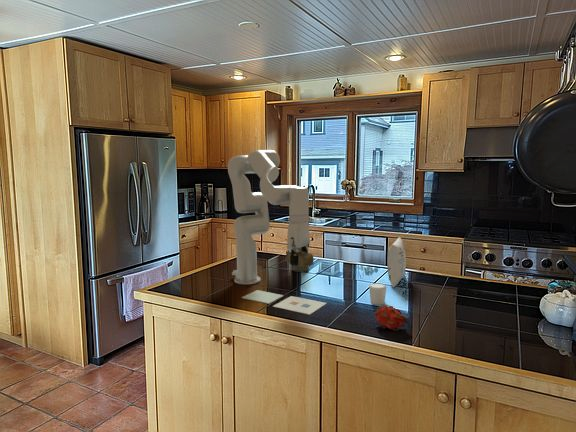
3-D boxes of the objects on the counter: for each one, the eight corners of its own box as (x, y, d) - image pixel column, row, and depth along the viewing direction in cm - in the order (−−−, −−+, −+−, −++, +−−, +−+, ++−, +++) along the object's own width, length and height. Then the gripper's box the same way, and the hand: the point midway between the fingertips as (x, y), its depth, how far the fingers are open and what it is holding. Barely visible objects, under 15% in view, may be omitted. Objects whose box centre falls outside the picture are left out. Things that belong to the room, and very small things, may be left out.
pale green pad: (241, 298, 176) (241, 297, 176) (257, 290, 185) (257, 290, 185) (268, 304, 168) (268, 303, 168) (283, 296, 178) (283, 295, 177)
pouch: (409, 277, 202) (410, 237, 199) (400, 289, 185) (401, 245, 182) (392, 275, 205) (393, 236, 202) (382, 286, 189) (383, 243, 186)
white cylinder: (386, 300, 171) (387, 283, 170) (385, 305, 165) (385, 288, 164) (370, 298, 173) (370, 282, 172) (367, 304, 167) (368, 287, 166)
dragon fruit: (372, 326, 148) (405, 339, 142) (366, 320, 142) (400, 333, 135) (381, 305, 151) (413, 316, 144) (375, 297, 144) (409, 309, 138)
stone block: (303, 268, 158) (303, 255, 158) (284, 263, 167) (284, 251, 166) (314, 265, 162) (314, 253, 161) (295, 260, 171) (294, 248, 170)
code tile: (272, 306, 166) (272, 305, 165) (291, 296, 177) (291, 295, 177) (309, 314, 156) (309, 314, 156) (326, 303, 168) (326, 302, 168)
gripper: (302, 215, 171) (302, 257, 174) (278, 220, 157) (279, 266, 159) (318, 216, 167) (318, 259, 170) (295, 222, 153) (295, 269, 155)
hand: (299, 262), depth 164 cm, fingers closed on stone block, 7 cm apart
